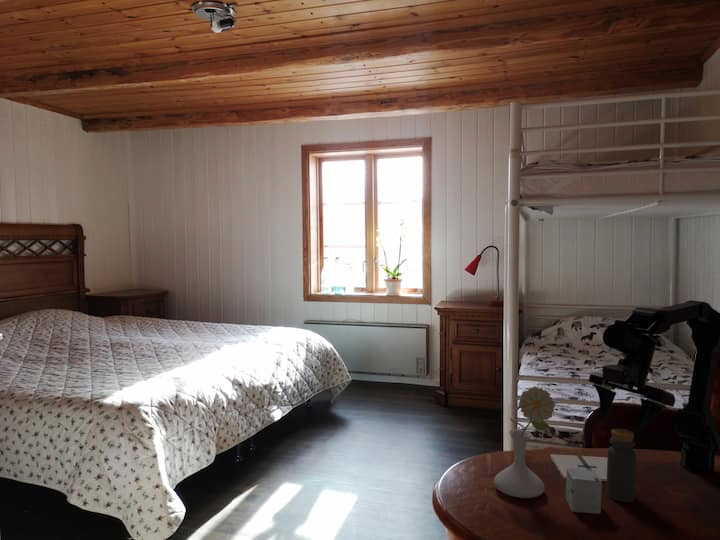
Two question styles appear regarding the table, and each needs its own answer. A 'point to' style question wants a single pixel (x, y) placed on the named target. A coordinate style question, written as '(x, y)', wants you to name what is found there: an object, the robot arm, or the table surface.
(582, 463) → the letter card
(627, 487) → the bottle
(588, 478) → the skincare box
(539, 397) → the flower in vase
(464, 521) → the table surface
